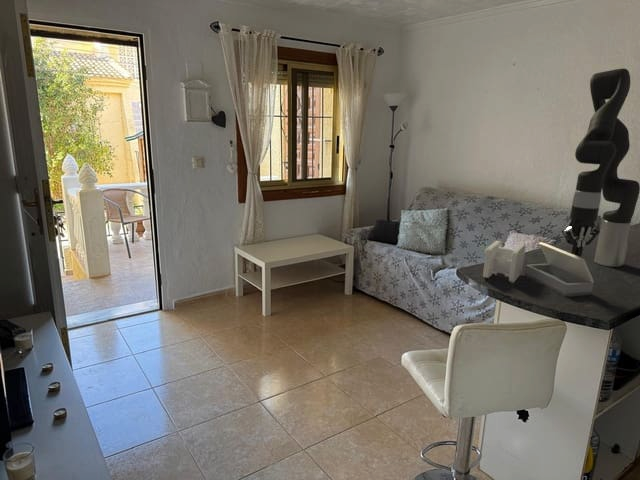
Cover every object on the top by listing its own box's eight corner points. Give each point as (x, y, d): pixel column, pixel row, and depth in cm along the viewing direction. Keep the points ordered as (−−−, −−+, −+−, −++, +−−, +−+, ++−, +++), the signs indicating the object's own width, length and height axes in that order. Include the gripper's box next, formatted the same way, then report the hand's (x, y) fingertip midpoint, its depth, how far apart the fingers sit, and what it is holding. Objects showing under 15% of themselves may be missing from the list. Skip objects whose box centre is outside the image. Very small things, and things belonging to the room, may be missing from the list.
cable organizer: (512, 286, 151) (517, 253, 148) (480, 279, 157) (484, 247, 154) (522, 274, 163) (526, 243, 160) (492, 268, 169) (496, 238, 165)
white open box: (547, 273, 164) (549, 263, 163) (591, 294, 145) (593, 283, 144) (523, 275, 162) (525, 264, 161) (564, 296, 143) (566, 284, 142)
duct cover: (548, 263, 163) (550, 261, 163) (592, 283, 144) (594, 281, 144) (538, 243, 159) (541, 241, 160) (582, 260, 141) (584, 258, 141)
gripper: (593, 202, 148) (584, 253, 152) (559, 203, 145) (550, 254, 149) (612, 207, 141) (602, 259, 145) (577, 207, 138) (567, 261, 142)
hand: (576, 257), depth 147 cm, fingers closed
